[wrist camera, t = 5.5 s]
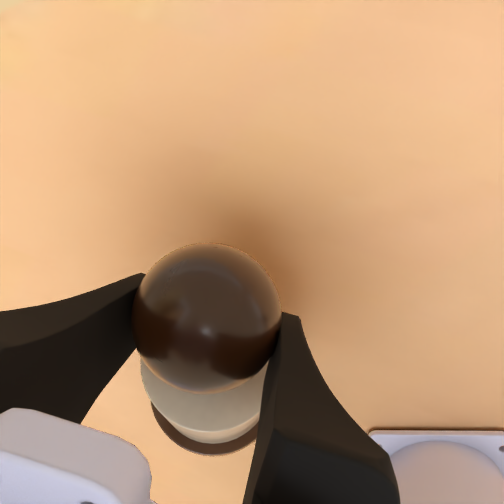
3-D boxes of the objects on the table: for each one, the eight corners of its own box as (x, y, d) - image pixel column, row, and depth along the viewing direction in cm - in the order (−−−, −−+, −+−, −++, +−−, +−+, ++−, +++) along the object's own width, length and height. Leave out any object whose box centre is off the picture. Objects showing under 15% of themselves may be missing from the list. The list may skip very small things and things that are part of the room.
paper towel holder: (261, 474, 20) (304, 463, 8) (131, 433, 20) (14, 373, 9) (290, 343, 23) (347, 215, 12) (179, 312, 24) (137, 163, 13)
